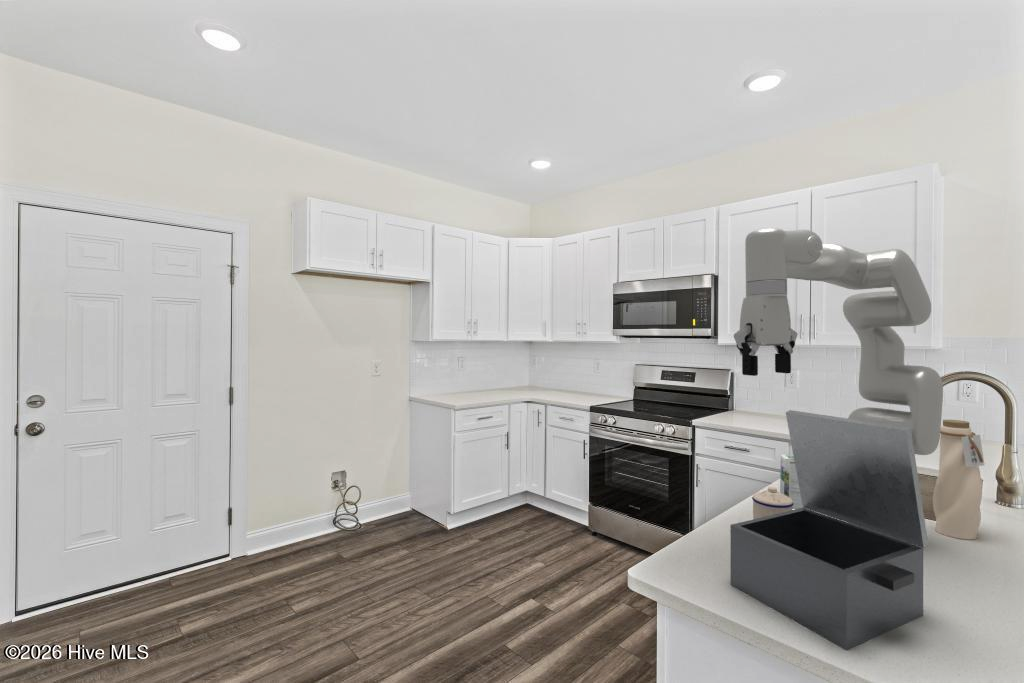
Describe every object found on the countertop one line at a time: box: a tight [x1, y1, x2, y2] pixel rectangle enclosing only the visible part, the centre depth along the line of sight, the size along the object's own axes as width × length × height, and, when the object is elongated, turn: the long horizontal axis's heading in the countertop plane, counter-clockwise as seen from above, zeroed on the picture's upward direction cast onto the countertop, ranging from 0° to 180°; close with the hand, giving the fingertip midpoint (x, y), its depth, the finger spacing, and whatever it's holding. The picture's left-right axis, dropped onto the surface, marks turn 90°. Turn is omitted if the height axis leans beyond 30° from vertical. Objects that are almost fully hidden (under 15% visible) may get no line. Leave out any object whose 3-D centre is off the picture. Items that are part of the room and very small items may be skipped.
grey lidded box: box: [729, 508, 924, 651], centre depth 90 cm, size 22×27×12 cm
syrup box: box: [779, 454, 806, 509], centre depth 138 cm, size 6×6×14 cm
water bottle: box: [932, 419, 985, 540], centre depth 118 cm, size 10×9×28 cm
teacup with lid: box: [751, 486, 794, 520], centre depth 120 cm, size 12×9×12 cm
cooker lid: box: [785, 409, 929, 549], centre depth 94 cm, size 22×22×4 cm
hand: (766, 374), depth 98 cm, fingers open, 9 cm apart
